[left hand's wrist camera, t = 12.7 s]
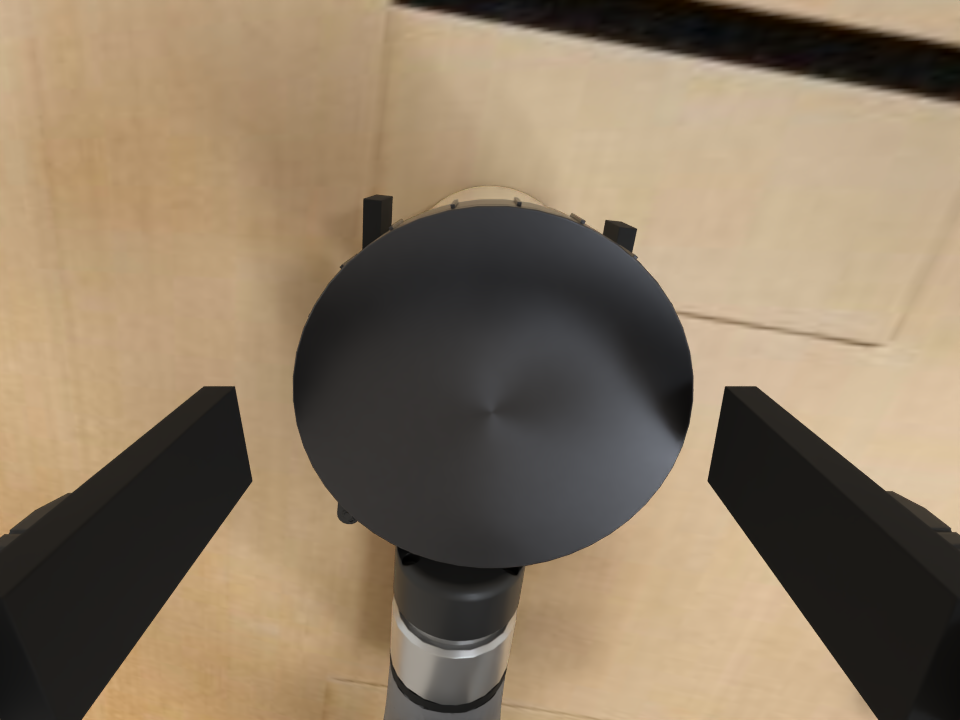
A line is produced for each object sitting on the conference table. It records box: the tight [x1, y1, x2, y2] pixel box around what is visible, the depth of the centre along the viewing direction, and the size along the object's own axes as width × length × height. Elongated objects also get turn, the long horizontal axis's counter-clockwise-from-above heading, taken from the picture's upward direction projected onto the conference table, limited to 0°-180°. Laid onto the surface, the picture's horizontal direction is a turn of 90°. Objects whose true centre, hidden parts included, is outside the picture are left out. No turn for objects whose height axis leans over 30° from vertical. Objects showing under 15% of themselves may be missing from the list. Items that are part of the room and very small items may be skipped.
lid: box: [293, 197, 693, 568], centre depth 15 cm, size 11×11×2 cm
